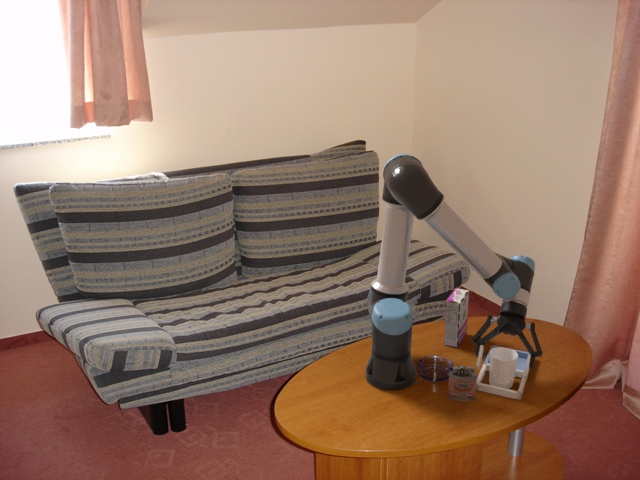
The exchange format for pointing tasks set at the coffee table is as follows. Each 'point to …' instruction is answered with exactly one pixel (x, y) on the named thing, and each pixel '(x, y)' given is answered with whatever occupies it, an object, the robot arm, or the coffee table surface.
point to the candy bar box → (456, 317)
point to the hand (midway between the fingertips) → (501, 372)
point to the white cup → (502, 367)
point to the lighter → (462, 383)
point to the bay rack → (519, 373)
